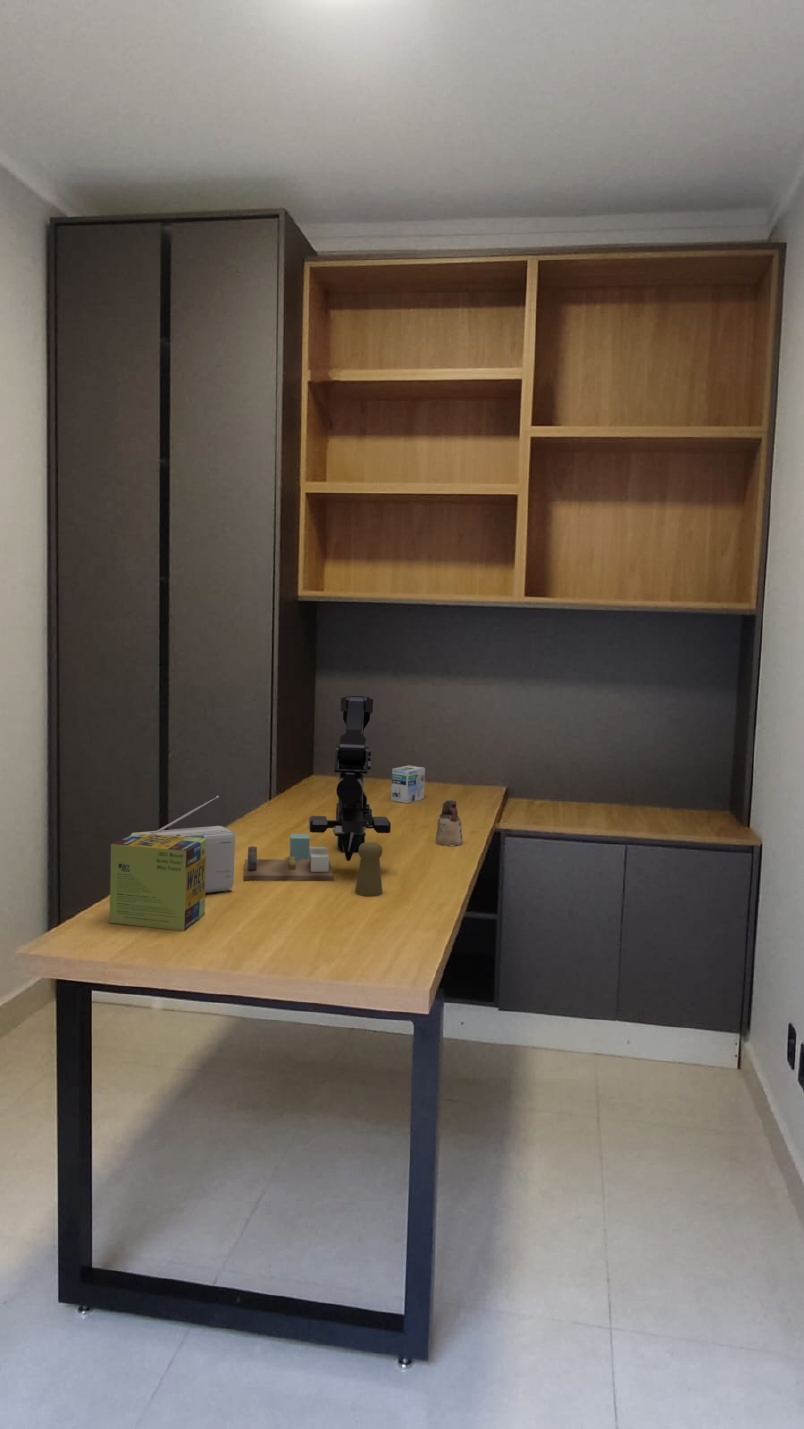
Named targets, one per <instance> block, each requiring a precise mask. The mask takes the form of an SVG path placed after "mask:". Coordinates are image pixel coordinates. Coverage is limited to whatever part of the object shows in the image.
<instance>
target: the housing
mask: <svg viewBox="0 0 804 1429" xmlns="http://www.w3.org/2000/svg"><path fill="white" fill-rule="evenodd" d="M329 861H330V856H329V852H328V848H327V846H309V863H311V872H328V871H329Z"/></svg>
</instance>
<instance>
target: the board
mask: <svg viewBox="0 0 804 1429" xmlns="http://www.w3.org/2000/svg"><path fill="white" fill-rule="evenodd" d="M247 848H248V849H247V858H245V859H244V870H243V872H244V873H243V881H244V882H259V881H260V882H262V881H263V882H267V881H268V882H270V881H271V882H272V881H273V882H274V881H275V882H276V881H277V880H282V882H285V880H310V881H309V882H312V881H313V882H314V881H317V882H319V881H320V882H321V881H322V882H325V881H326V882H333V881H334V880H335V879H334V876H335V875H334V871H333V869H332V865H331V862H330V860H329V871H328V872H311V863H309V859H295V857H294V856H290V855H289V856H288V857H287V858H288V859H286V858H284V859H283V858H281V859H279V858H277V859H276V858H274V859H265V858H264V859H258V857H257V856H258V852H257V850H258V847H257V846H248V847H247ZM250 880H251V881H250ZM255 880H256V881H255ZM277 882H278V881H277Z"/></svg>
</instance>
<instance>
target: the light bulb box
mask: <svg viewBox="0 0 804 1429" xmlns="http://www.w3.org/2000/svg"><path fill="white" fill-rule="evenodd" d="M425 776H426V767H424V766H423V767H421V766H415V765H409V764H408V765H406V766H399V767H395V768H392V770H391V789H390V790H391V793H390V796H391V797H390V800H391V801H393V802H399V803H402V804H403V803H404V804H409V803H414V802H417V801H422V799H423V800H424V798H425V797H424V796H425V781H426V780H425V779H426V777H425Z"/></svg>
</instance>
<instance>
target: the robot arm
mask: <svg viewBox="0 0 804 1429" xmlns="http://www.w3.org/2000/svg"><path fill="white" fill-rule="evenodd" d="M374 705H375V701H374V699H373V698H370V696H369V695H359V694H358V695H357V694H356V695H355V694H353V695H352V694H349V695H346V694H345V697H344V696H343V697H340V708H339V709H340V710H339V711H340V714H342V719H343V722H344V724H345V731H344V733H343V734H342V735H341V736H339V742H338V745H335V755H334V756H335V757H334V771H333V773H338V774H339V775H338V782H337V786H336V791H335V792H336V796H337V799H338V800H337V802H336V810H335V819H327V816H326V815H311V816H310V817H309V818H308V830H309V832H310V833H311V834H313V833H315V834H316V833H317V834H318V833H321V834H322V833H323V834H324V833H325V832H326V831H327V830H328V829H332V832H333V835H334V837H336V838H337V839H336V842H337V843H336V846H337V848H338V849H339V852H344V856H345V859H346V861H347V862H351V859H352V857H353V854H354V853H355V852H358V851H359V846H360V845H361V844H362V843H365V841H366V839H365V838H366V836H367V833H366V830H367V829H373V830H374V831H375V832H376V833H377V834H390V833H391V830H392V829H391V827H392V825H391V821H390V819H389V818H388V817H387V816H373V809H372V808H371V806H370V804H369V803H368V797H367V794H366V793H365V791H364V777H365V776H364V774H365V775H367V774H368V772H369V771H370V770H371V762H372V751H371V749H370V747H369V746H367V736H365V730H366V728H367V726H368V725H369V724H370V723H371V715H374V709H375V708H374V707H375V706H374ZM368 770H369V771H368Z"/></svg>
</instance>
